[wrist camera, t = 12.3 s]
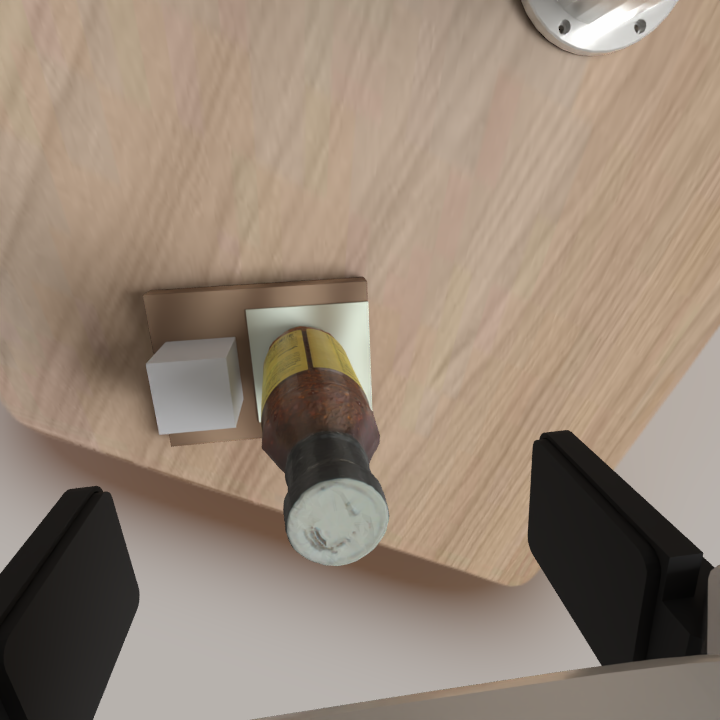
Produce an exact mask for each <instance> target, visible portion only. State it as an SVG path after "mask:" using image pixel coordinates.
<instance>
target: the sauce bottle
mask: <svg viewBox="0 0 720 720" xmlns="http://www.w3.org/2000/svg"><path fill="white" fill-rule="evenodd" d="M261 429H262V449H263V450H264V451H265V452H266V453H267V454H268V456H269V457H270V458H271V459H272V460H273V461H274V462H275V463H276V465H277V466H278V467H279V468H280V469H281V470H282V471H283V472H284V473H285V480H286V484H287V486H288V493H287V495H286V497H285V500H284V508H283V511H284V521H285V530H286V533H287V536H288V539H289V542H290V544H291V546H292V547H293V548H294V549H295V550H296V551H297V552H298V553H299V554H301V555H302V556H303V557H305V558H307V559H309V560H311V561H313V562H316V563H319V564H323V565H333V566H339V565H346V564H349V563H352V562H355V561H357V560H359V559H360V558H362V557H363V556H365V555H366V554H368V553H369V552H371V551H372V550H373V549H374V548H375V547H376V545H377V544H378V543H379V542H380V540H381V539H382V537H383V536H384V534H385V532H386V529H387V524H388V521H389V511H388V506H387V503H386V499H385V495H384V492H383V490H382V487H381V485H380V483H379V481H378V480H377V479H376V478H375V477H374V475H373V474H372V473H371V471H370V469H369V463H370V460H371V458H372V456H373V454H374V452H375V451H376V449H377V447H378V445H379V441H380V434H379V431H378V428H377V425H376V421H375V418H374V415H373V411H372V410H371V409H370V406H369V401H368V399H367V396H366V394H365V392H364V390H363V388H362V386H361V384H360V382H359V380H358V378H357V376H356V374H355V372H354V370H353V367H352V365H351V363H350V361H349V359H348V357H347V354H346V352H345V350H344V349H343V347H342V346H341V345H340V343H339V342H338V341H337V340H336V339H335V338H334V337H333V336H332V335H331V334H330V333H327V332H325V331H323V330H321V329H317V328H312V327H305V326H299V327H295V328H292V329H289V330H288V331H285V332H284V333H283V334H282V335H280V336H279V337H278V338H277V339H276V340H274V341H273V342H272V344H271V345H270V347H269V351H268V353H267V355H266V358H265V361H264V365H263V383H262V401H261Z"/></svg>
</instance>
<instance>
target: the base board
mask: <svg viewBox="0 0 720 720" xmlns="http://www.w3.org/2000/svg"><path fill="white" fill-rule="evenodd" d="M143 300H144V305H145V310H146V316H147V321H148V326H149V331H150V337H151V342H152V347H153V353H154V354H155V353H156V352H157V351H158V350H159V349H160V348H161V347H162V346H163V344H164V343H165V342H172V341H186V340H200V339H213V338H227V337H236V345H237V353H238V361H239V368H240V376H241V384H242V391H243V403H242V406H241V410H240V414H239V417H238V421H237V425H236V428H226V429H216V430H205V431H194V432H183V433H172V434H169V437H170V443H171V447H172V446H183V445H193V444H204V443H214V442H225V441H236V440H246V439H257V438H262V429H261V401H262V383H263V365H264V361H265V358H266V355H267V353H268V351H269V347H270V345H271V344H272V342H273V341H274V340H276V339H277V338H278V337H279V336H280V335H282V334H283V333H284V332H285V331H288V330H289V329H292V328H295V327H299V326H305V327H312V328H317V329H321V330H323V331H325V332H327V333H330V334H331V335H332V336H333V337H334V338H335V339H336V340H337V341H338V342H339V343H340V345H341V346H342V347H343V349H344V350H345V352H346V354H347V357H348V359H349V361H350V363H351V365H352V367H353V370H354V372H355V374H356V376H357V378H358V380H359V382H360V384H361V386H362V388H363V390H364V392H365V394H366V396H367V399H368V401H369V406H370V409H371V410H372V389H371V362H370V336H369V309H368V292H367V281H366V279H365V278H364V277H359V278H343V279H327V280H311V281H295V282H279V283H263V284H247V285H231V286H215V287H199V288H183V289H166V290H151V291H149V292H148V293H146V294H144V295H143Z"/></svg>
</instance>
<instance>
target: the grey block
mask: <svg viewBox="0 0 720 720" xmlns="http://www.w3.org/2000/svg"><path fill="white" fill-rule="evenodd" d="M146 368H147V374H148V379H149V384H150V389H151V394H152V399H153V404H154V409H155V414H156V419H157V425H158V430H159V435H161V434H172V433H183V432H194V431H205V430H216V429H226V428H236V425H237V421H238V417H239V414H240V410H241V406H242V403H243V391H242V384H241V376H240V368H239V361H238V353H237V345H236V337H227V338H213V339H200V340H186V341H172V342H165V343H164V344H163V346H162V347H161V348H160V349H159V350H158V351H157V352H156V353H155V354H154V355H153V356H152V358H151V359H150V360H149V361H148V362H147V363H146Z"/></svg>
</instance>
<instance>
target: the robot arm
mask: <svg viewBox="0 0 720 720" xmlns="http://www.w3.org/2000/svg"><path fill="white" fill-rule="evenodd" d="M521 1H522V4H523V6H524V9H525V11H526V13H527V15H528V16H529V18H530V19H531V21H532V23H533V24H534V26H535V27H536V29H537V30H538V31H539V32H540V33H541V34H542V35H543V36H544V37H545V38H546V39H547V40H548V41H550V42H551V43H553V44H555V45H556V46H558V47H559V48H561V49H563V50H565V51H568V52H571V53H574V54H577V55H586V56H598V55H605V54H610V53H613V52H616V51H619V50H621V49H624V48H626V47H628V46H630V45H632V44H634V43H636V42H638V41H640V40H641V39H643V38H644V37H645V36H647V35H648V34H649V33H651V32H652V31H653V30H655V29H656V28H657V27H658V25H659V24H660V23H661V22H662V21H663V20H664V19H665V18H666V17H667V16H668V15H669V13H670V12H671V10H672V9H673V8H674V6H675V5H676V3H677V2H678V0H521ZM559 28H560V29H561V33H560V32H559ZM528 543H529V547H530V550H531V552H532V554H533V556H534V557H535V559H536V560H537V562H538V564H539V565H540V567H541V569H542V570H543V572H544V573H545V575H546V576H547V578H548V580H549V581H550V583H551V585H552V586H553V588H554V589H555V591H556V593H557V594H558V596H559V597H560V599H561V601H562V602H563V604H564V606H565V607H566V609H567V610H568V612H569V614H570V615H571V617H572V618H573V620H574V622H575V623H576V625H577V626H578V628H579V630H580V631H581V633H582V635H583V636H584V638H585V639H586V641H587V643H588V644H589V646H590V647H591V649H592V651H593V652H594V654H595V655H596V657H597V659H598V660H599V662H600V663H601V665H602V666H599V667H591V668H584V669H577V670H569V671H562V672H555V673H549V674H542V675H536V676H529V677H522V678H516V679H509V680H502V681H496V682H489V683H483V684H476V685H469V686H463V687H457V688H450V689H443V690H437V691H430V692H423V693H417V694H411V695H404V696H398V697H391V698H385V699H379V700H372V701H366V702H360V703H353V704H346V705H340V706H334V707H328V708H321V709H315V710H309V711H302V712H296V713H290V714H284V715H277V716H271V717H265V718H259V719H252V720H720V565H718V566H717V567H715V568H714V567H713V566H712V565H711V564H710V563H709V562H708V561H707V560H706V559H704V558H703V552H702V551H700V549H698V548H697V547H696V546H695V545H694V544H693V543H692V542H691V541H690V540H689V539H688V538H687V537H685V536H684V535H683V534H682V533H681V532H680V531H679V530H678V529H677V528H676V527H674V526H673V525H672V524H671V523H670V522H669V521H668V520H667V519H666V518H665V517H664V516H662V515H661V514H660V513H659V512H658V511H657V510H656V509H655V508H654V507H653V506H652V505H650V504H649V503H648V502H647V501H646V500H645V499H644V498H643V497H642V496H641V495H640V494H638V493H637V492H636V491H635V490H634V489H633V488H632V487H631V486H630V485H629V484H627V483H626V482H625V481H624V480H623V479H622V478H621V477H620V476H619V475H618V474H617V473H616V472H614V471H613V470H612V469H611V468H610V467H609V466H608V465H607V464H606V463H605V462H603V461H602V460H601V459H600V458H599V457H598V456H597V455H596V454H595V453H594V452H593V451H591V450H590V449H589V448H588V447H587V446H586V445H585V444H584V443H583V442H582V441H581V440H579V439H578V438H577V437H576V436H575V435H574V434H573V433H572V432H570V431H569V430H564V431H555V432H547V433H543V434H541V436H540V440H536V441H534V443H533V452H532V469H531V487H530V505H529V522H528ZM138 604H139V588H138V584H137V581H136V578H135V574H134V570H133V567H132V564H131V560H130V557H129V554H128V550H127V547H126V543H125V540H124V537H123V533H122V529H121V526H120V523H119V519H118V516H117V513H116V509H115V506H114V502H113V499H112V496H111V494H110V493H109V492H103V491H102V489H101V488H100V487H98V486H92V487H84V488H76V489H69V490H67V491H66V492H65V493H64V494H63V495H62V497H61V498H60V499H59V500H58V502H57V503H56V504H55V506H54V507H53V508H52V509H51V511H50V512H49V513H48V514H47V516H46V517H45V518H44V519H43V521H42V522H41V523H40V524H39V526H38V527H37V528H36V530H35V531H34V532H33V533H32V535H31V536H30V537H29V538H28V539H27V541H26V542H25V543H24V545H23V546H22V547H21V548H20V550H19V551H18V552H17V553H16V555H15V556H14V557H13V558H12V560H11V561H10V562H9V564H8V565H7V566H6V567H5V569H4V570H3V571H2V572H1V573H0V720H93V718H94V715H95V713H96V710H97V708H98V706H99V703H100V700H101V698H102V696H103V693H104V691H105V688H106V686H107V683H108V680H109V678H110V675H111V673H112V671H113V668H114V666H115V663H116V661H117V658H118V656H119V653H120V651H121V648H122V646H123V643H124V641H125V638H126V636H127V633H128V631H129V628H130V626H131V623H132V621H133V618H134V616H135V613H136V611H137V608H138Z"/></svg>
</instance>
